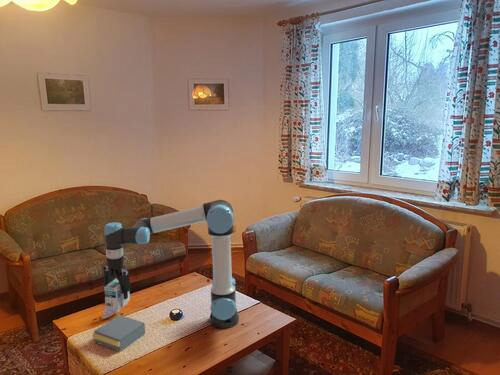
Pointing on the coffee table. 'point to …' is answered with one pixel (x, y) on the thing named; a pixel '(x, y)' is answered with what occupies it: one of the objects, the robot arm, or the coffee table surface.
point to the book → (119, 332)
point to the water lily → (109, 312)
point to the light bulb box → (114, 295)
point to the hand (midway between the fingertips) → (118, 302)
